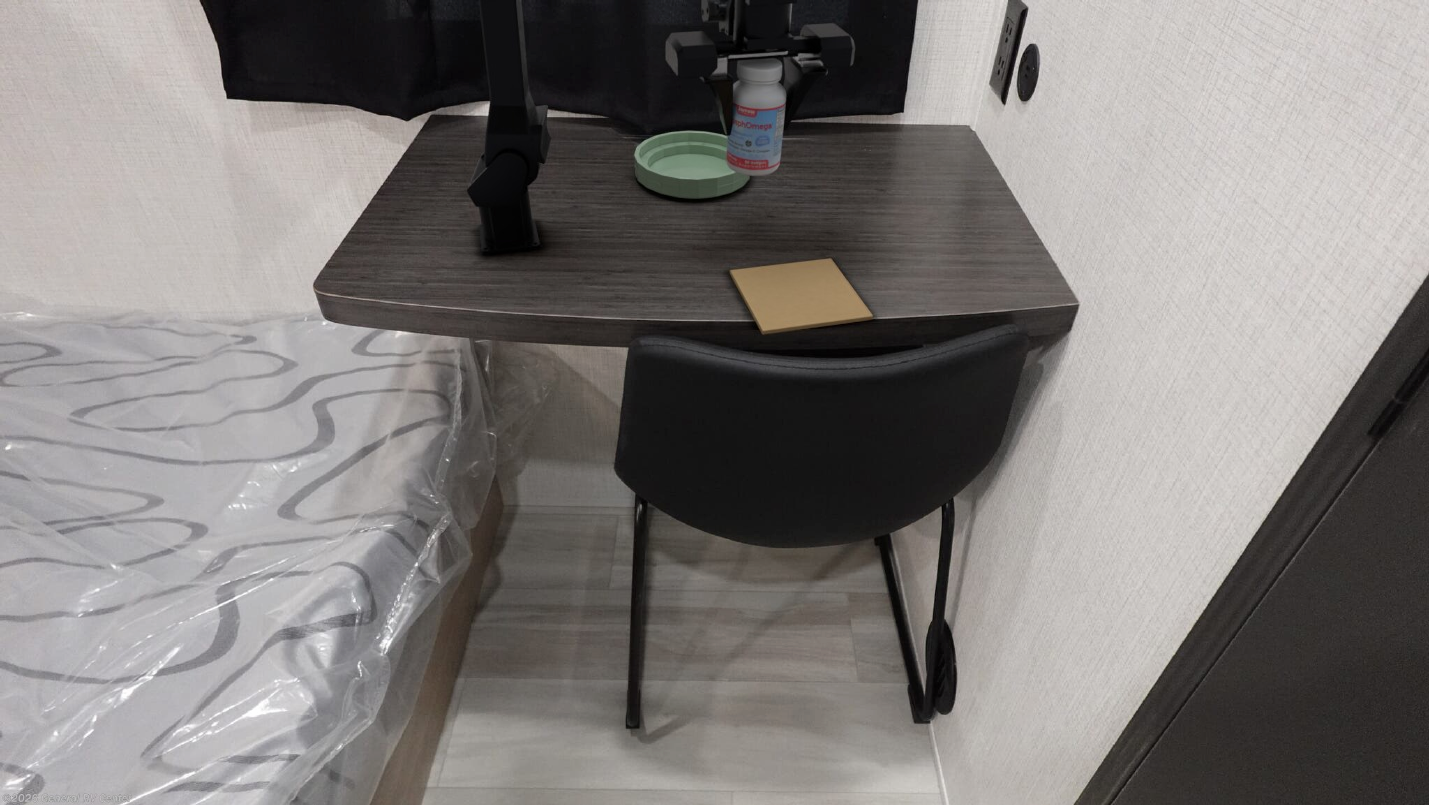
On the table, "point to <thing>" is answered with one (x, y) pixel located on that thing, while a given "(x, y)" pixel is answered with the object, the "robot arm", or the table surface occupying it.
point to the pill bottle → (757, 118)
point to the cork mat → (799, 296)
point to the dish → (687, 165)
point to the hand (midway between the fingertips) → (755, 131)
